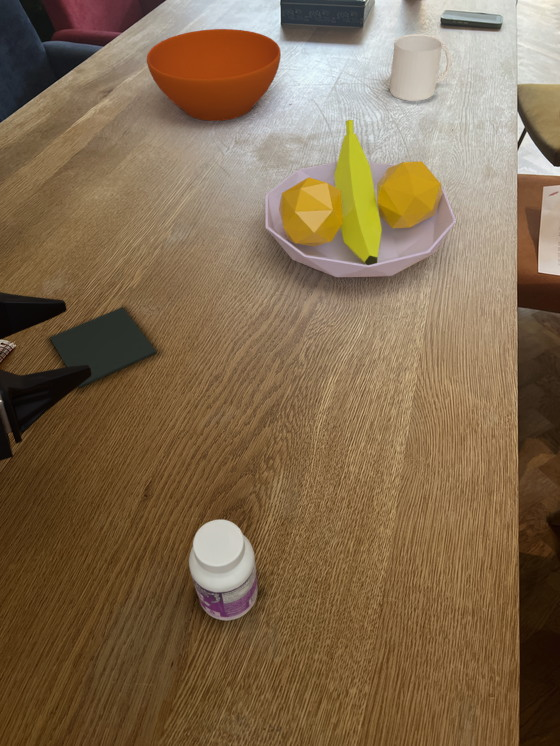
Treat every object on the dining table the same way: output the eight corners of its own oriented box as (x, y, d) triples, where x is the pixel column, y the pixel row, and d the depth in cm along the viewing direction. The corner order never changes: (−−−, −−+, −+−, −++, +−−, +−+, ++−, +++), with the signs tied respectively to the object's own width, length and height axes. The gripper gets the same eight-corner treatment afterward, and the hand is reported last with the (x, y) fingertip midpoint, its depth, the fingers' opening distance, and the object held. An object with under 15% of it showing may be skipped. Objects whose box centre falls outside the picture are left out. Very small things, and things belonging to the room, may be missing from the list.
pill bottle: (187, 587, 55) (170, 535, 48) (235, 553, 57) (226, 498, 50) (220, 636, 52) (207, 588, 45) (270, 598, 54) (266, 546, 47)
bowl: (279, 77, 131) (278, 26, 123) (283, 132, 114) (282, 76, 106) (162, 82, 131) (154, 31, 123) (148, 137, 114) (138, 82, 106)
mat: (79, 388, 72) (78, 385, 71) (50, 339, 77) (49, 337, 77) (156, 353, 75) (156, 350, 75) (123, 309, 81) (122, 306, 81)
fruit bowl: (437, 315, 79) (453, 241, 70) (238, 280, 84) (231, 208, 76) (459, 200, 97) (474, 131, 88) (294, 178, 102) (294, 111, 94)
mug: (393, 102, 121) (399, 52, 114) (385, 83, 127) (390, 35, 120) (453, 99, 121) (463, 49, 115) (443, 81, 128) (451, 32, 121)
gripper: (-169, 387, 37) (94, 330, 42) (-167, 228, 48) (40, 201, 54) (-107, 495, 44) (109, 434, 50) (-117, 336, 56) (59, 302, 62)
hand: (77, 336), depth 54 cm, fingers open, 9 cm apart
